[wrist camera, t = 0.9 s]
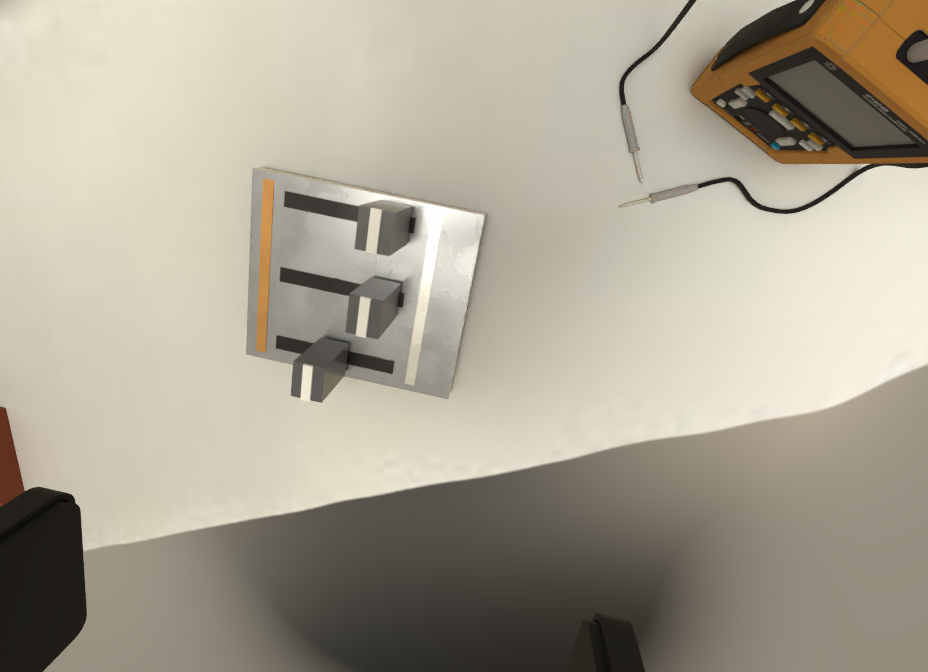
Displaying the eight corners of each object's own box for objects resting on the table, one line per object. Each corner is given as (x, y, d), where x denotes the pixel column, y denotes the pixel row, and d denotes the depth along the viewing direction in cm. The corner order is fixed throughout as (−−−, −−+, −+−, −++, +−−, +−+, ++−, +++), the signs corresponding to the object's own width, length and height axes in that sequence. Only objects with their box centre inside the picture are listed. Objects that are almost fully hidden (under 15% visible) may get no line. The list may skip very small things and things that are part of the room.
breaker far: (321, 337, 34) (291, 362, 29) (348, 343, 34) (323, 369, 29) (318, 368, 35) (289, 397, 30) (345, 374, 35) (320, 404, 30)
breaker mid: (371, 277, 32) (348, 294, 28) (401, 283, 32) (382, 301, 28) (367, 311, 33) (343, 333, 28) (396, 317, 33) (377, 340, 28)
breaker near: (381, 199, 30) (358, 205, 26) (412, 206, 30) (394, 213, 26) (376, 237, 31) (353, 249, 27) (406, 244, 31) (388, 256, 27)
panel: (265, 167, 32) (252, 167, 31) (486, 213, 32) (484, 215, 30) (257, 346, 37) (245, 354, 35) (451, 389, 36) (447, 399, 35)
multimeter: (558, 163, 30) (621, 156, 11) (670, 5, 27) (1017, -370, 8) (738, 297, 32) (1057, 486, 13) (865, 163, 28) (1540, 155, 10)
